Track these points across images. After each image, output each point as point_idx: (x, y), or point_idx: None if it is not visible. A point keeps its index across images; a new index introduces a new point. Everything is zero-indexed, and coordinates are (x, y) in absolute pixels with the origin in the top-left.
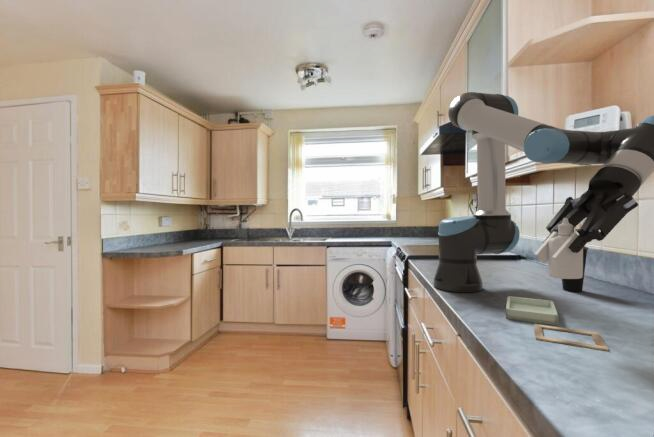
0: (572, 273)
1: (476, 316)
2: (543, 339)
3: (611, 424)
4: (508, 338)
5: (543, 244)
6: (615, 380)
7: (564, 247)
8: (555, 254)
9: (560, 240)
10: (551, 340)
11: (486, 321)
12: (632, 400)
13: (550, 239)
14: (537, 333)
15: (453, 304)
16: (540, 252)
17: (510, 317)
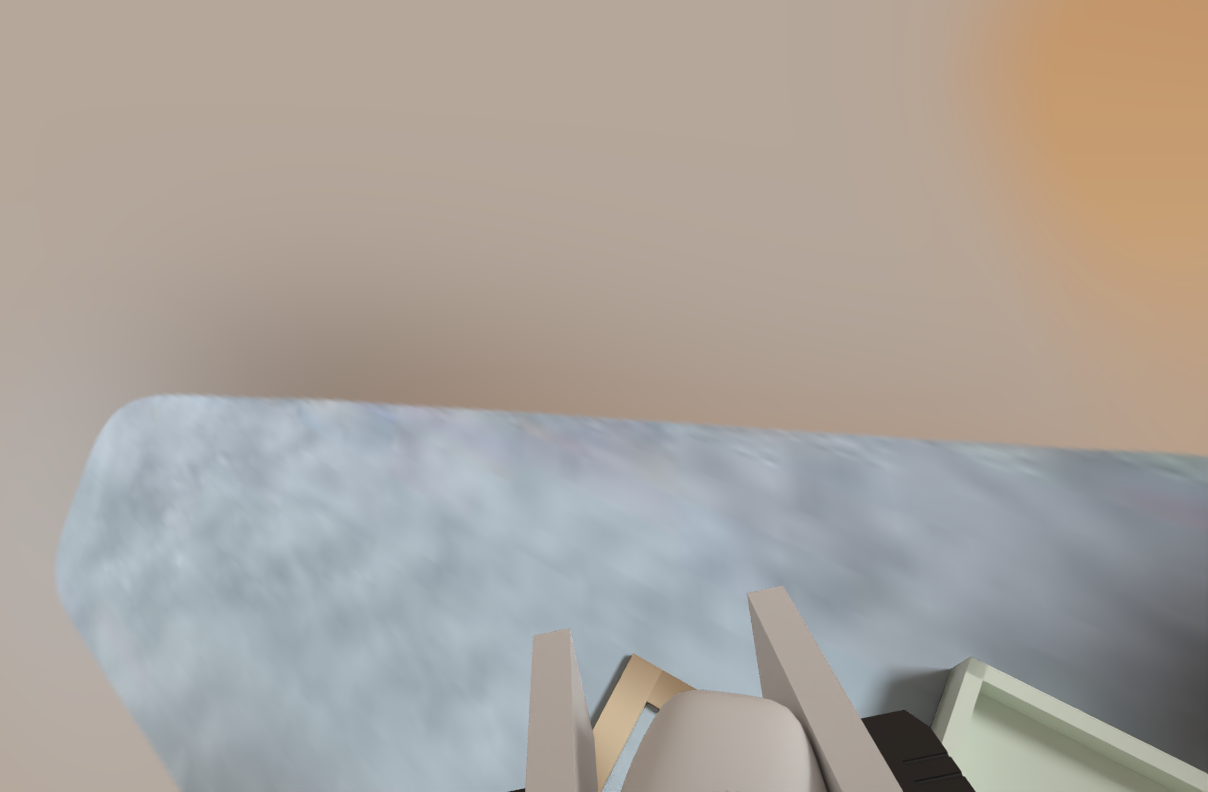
0: None
1: (961, 518)
2: (619, 683)
3: (92, 513)
4: (645, 535)
5: (813, 669)
6: (252, 717)
7: (529, 731)
8: (556, 652)
9: (636, 758)
10: (601, 713)
11: (879, 536)
12: (148, 663)
13: (760, 706)
14: None
15: (1193, 472)
16: (758, 629)
17: (947, 689)
